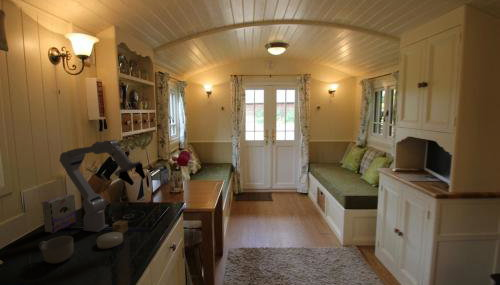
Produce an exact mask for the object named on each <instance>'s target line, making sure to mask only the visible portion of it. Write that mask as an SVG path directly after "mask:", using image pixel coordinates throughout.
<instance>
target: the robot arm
mask: <svg viewBox="0 0 500 285" xmlns="http://www.w3.org/2000/svg"><path fill="white" fill-rule="evenodd" d="M90 153H93V154H95V155H101V154H106V153H107V154H108V156H111V157H112V159H113V160H114V162H115V163H116V164H117V165H118V167H119V168H120V169H118V170H116V171H115V172H114V175H115V176H116V177H117V178H118V179H119V180H122V181H124V182H126V183H127V184H128V185H130V186H133V185H134V184H135V182H134V181H133V179H132V178H131V176H130V175H129V173H128V171H131V170H134V172H135V173H137V175H138V176H140V178H141V179H142V180H145V179H146V177H147V175H146V174H145V171H144V168H143V167H144V166H143V164H142V162H141V161H140V160H139V161H135V162H132V160H130V158H129V157H128V155H127V154H126V153H125V152H124V150H123V149H122V148H121V143H120V141H119V140H117V139H111V140H107V139H106V140H104V141H95V142H94V143H93V144H91V145H90V146H85V147H78V148H74V149H70V150H67V151H65V152H61V154H60V155H59V156H60V157H59V163H61V166H62V167H63V168H64V170H65V173H66V174H67V176H68V177H69V178H70V181H72V184H74V185H75V188H76V189H77V190H78V192H79V193H80V195H81V196H82V197H83V201H82V203H81V205H82V206H83V210H84V212H85V213H84V216H83V227H84V228H83V229H82V230H83V231H86V232H87V231H88V232H95V233H99V232H100V231H102V230H104V229H105V228H107V227H109V226H110V225H109V224H106V220H105V210H106V208H107V206H108V202H107V200H106V198H104V197H103V196H102V195H101V194H99V193H95V190H94V189H93V188H92V187H91V185H90V183H89V182H88V180H87V179H86V177H85V176H84V175H83V174H82V172H81V171H80V167H81V165H82V164H83V161H84V159H85V157H86V156H87V155H86V154H90Z"/></svg>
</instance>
